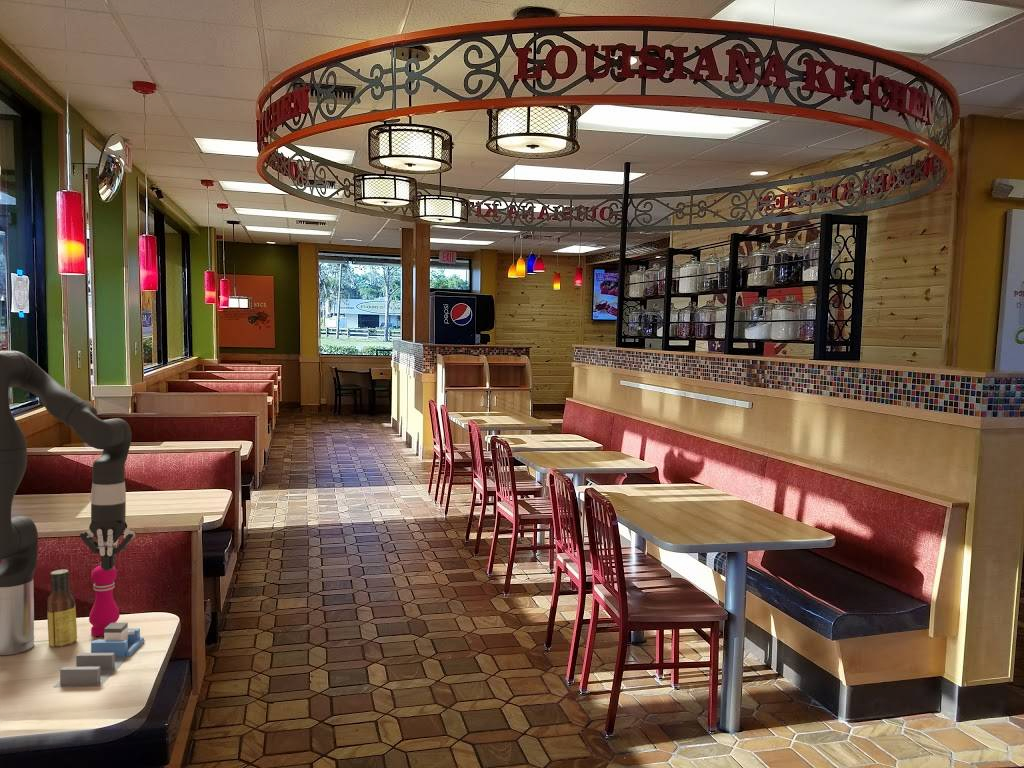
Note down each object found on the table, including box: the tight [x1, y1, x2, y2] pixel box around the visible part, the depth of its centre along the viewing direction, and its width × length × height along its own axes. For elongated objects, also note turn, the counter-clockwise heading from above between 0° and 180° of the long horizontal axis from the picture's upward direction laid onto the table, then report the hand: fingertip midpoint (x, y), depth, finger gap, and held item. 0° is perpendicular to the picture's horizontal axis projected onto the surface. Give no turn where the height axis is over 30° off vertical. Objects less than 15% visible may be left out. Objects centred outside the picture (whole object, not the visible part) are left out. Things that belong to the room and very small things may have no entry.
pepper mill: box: [88, 561, 120, 637], centre depth 204 cm, size 7×7×20 cm
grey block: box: [103, 622, 129, 640], centre depth 190 cm, size 4×4×6 cm
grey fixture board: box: [53, 627, 146, 688], centre depth 183 cm, size 10×26×5 cm, turn 5°
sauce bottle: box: [46, 568, 78, 648], centre depth 193 cm, size 7×6×20 cm
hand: (108, 569), depth 188 cm, fingers closed
